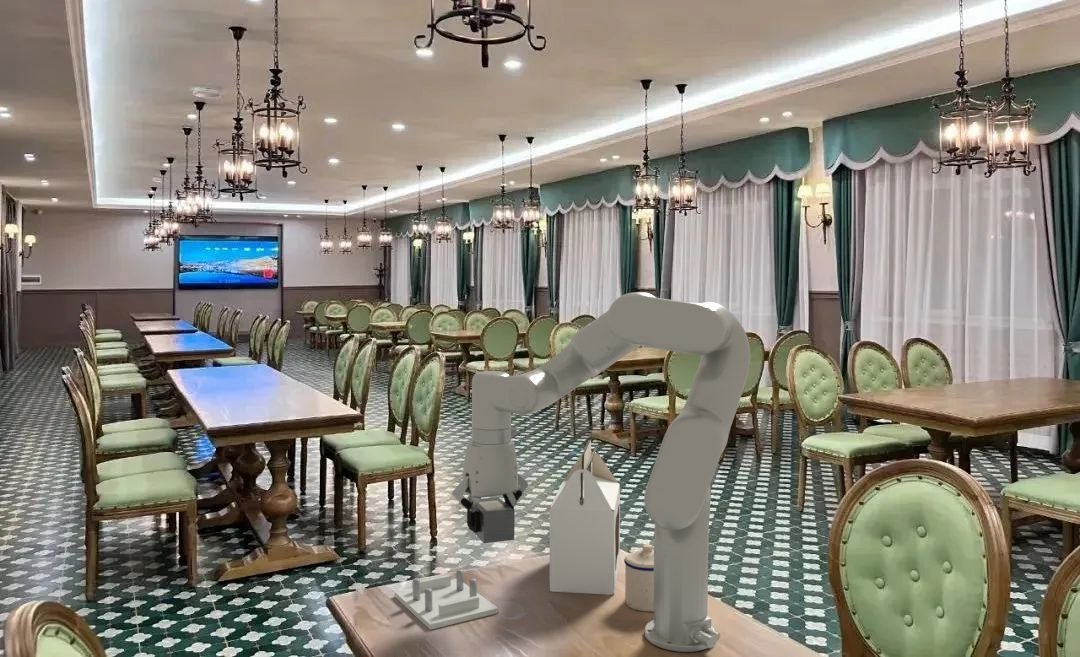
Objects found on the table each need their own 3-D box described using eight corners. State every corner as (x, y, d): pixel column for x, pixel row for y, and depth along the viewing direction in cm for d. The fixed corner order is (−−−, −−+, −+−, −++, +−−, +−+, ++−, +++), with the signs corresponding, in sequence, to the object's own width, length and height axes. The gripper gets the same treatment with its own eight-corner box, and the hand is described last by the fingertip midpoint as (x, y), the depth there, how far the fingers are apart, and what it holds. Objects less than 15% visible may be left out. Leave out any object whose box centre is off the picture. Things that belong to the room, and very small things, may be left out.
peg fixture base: (497, 613, 153) (497, 587, 153) (430, 629, 146) (429, 603, 146) (457, 582, 169) (457, 559, 169) (394, 596, 162) (394, 572, 161)
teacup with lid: (674, 612, 153) (675, 553, 153) (627, 613, 153) (627, 553, 152) (662, 588, 165) (663, 533, 165) (619, 589, 165) (619, 533, 164)
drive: (514, 539, 151) (514, 510, 150) (483, 543, 148) (483, 513, 148) (497, 523, 160) (497, 495, 160) (468, 526, 158) (468, 498, 158)
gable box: (614, 596, 162) (614, 459, 160) (549, 592, 164) (549, 457, 162) (619, 558, 184) (620, 437, 182) (562, 555, 186) (562, 435, 184)
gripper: (521, 428, 161) (520, 516, 162) (441, 436, 152) (441, 529, 153) (540, 435, 154) (539, 526, 156) (458, 444, 145) (457, 540, 147)
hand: (490, 527), depth 154 cm, fingers closed on drive, 6 cm apart
